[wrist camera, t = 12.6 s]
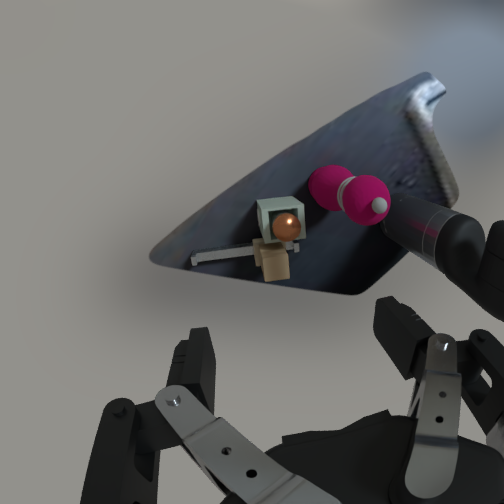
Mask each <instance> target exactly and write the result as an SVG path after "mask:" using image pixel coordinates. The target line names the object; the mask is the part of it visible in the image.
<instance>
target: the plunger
mask: <svg viewBox="0 0 504 504" xmlns="http://www.w3.org/2000/svg"><path fill="white" fill-rule="evenodd" d="M270 219H271V223H272V229H273V232H274V234H275V236H276V237H277V238H278V239H279V240H281V241H284V242H289V241H292V240H294V239H296V238H297V237H298V235H299V234H300V231H301V223H300V221H299V219H298V218H297V217H296V216H295V215H293V214H291V213H288V212H287V211H286V210H284V209H283V210H275V211H274V212H273V213H272V214H271V218H270Z"/></svg>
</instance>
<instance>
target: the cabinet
mask: <svg viewBox="0 0 504 504" xmlns="http://www.w3.org/2000/svg"><path fill="white" fill-rule="evenodd" d="M257 208H258V209H257V216H258V223H259V226H260V231H261V234H262V237H263V239H264V242H265V244H266V243H274V242H281V240H279V239H278V238H277V237H276V236H275V234H274V232H273V229H272V223H271V219H270V218H271V214H272V213H273V212H274V211H275V210H283V209H284V210H286V211H287V212H288V213H291V214H293V215H295V216H296V217H297V218H298V219H299V221H300V223H301V231H300V234H299V235H298V237H297V238H296V239H294V240H297V239H305V238H306V230H305V215H304V204H303V203H301V202H300V201H298V200H297V199H296V198H294V197H293V196H288V197H279V198H270V199H261V200H257Z"/></svg>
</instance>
